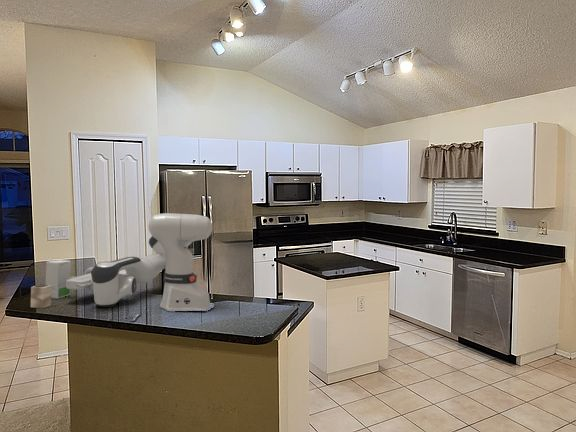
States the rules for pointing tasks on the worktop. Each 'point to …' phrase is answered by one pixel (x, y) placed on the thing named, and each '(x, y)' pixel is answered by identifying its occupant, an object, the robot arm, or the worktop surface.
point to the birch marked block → (41, 296)
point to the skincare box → (58, 277)
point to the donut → (88, 270)
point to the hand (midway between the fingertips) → (69, 278)
